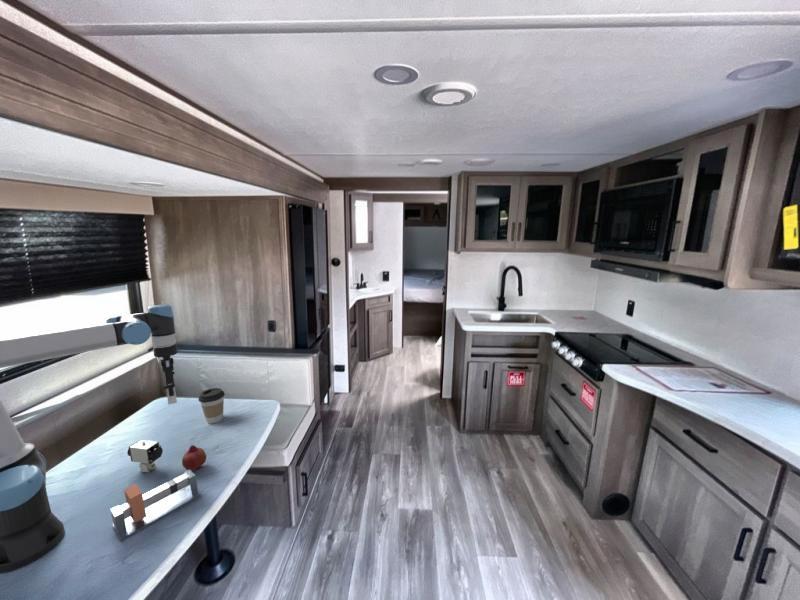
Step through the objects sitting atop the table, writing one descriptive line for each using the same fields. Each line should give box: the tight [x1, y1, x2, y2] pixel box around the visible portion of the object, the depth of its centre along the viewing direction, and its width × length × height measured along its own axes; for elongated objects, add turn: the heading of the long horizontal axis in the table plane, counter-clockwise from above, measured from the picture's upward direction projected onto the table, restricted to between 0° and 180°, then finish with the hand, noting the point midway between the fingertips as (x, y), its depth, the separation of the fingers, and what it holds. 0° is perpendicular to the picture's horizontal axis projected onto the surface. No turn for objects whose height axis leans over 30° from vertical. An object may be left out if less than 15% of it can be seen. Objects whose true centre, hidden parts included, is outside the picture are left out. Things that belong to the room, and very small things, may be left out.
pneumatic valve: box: [127, 439, 164, 473], centre depth 129 cm, size 6×12×12 cm, turn 78°
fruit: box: [181, 444, 207, 472], centre depth 129 cm, size 8×8×10 cm
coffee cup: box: [198, 387, 226, 425], centre depth 164 cm, size 11×11×15 cm
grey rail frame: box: [110, 470, 202, 543], centre depth 109 cm, size 22×9×8 cm, turn 142°
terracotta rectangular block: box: [123, 483, 146, 523], centre depth 104 cm, size 3×6×8 cm, turn 52°
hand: (171, 396), depth 131 cm, fingers open, 13 cm apart
